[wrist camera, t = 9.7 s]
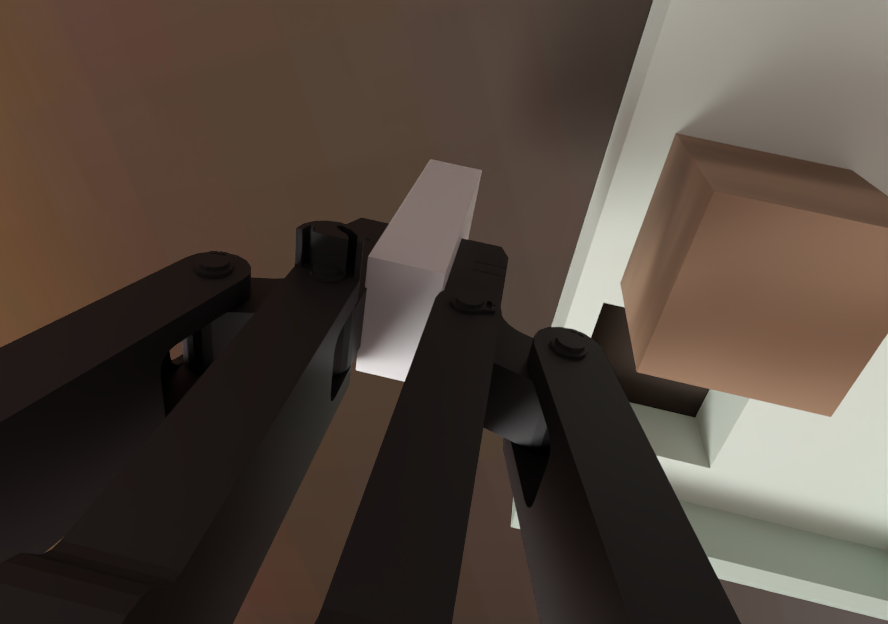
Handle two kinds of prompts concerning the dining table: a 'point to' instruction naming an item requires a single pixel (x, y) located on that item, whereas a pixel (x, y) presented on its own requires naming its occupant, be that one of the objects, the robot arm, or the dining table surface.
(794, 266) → the walnut block
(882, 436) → the tray
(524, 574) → the dining table surface
